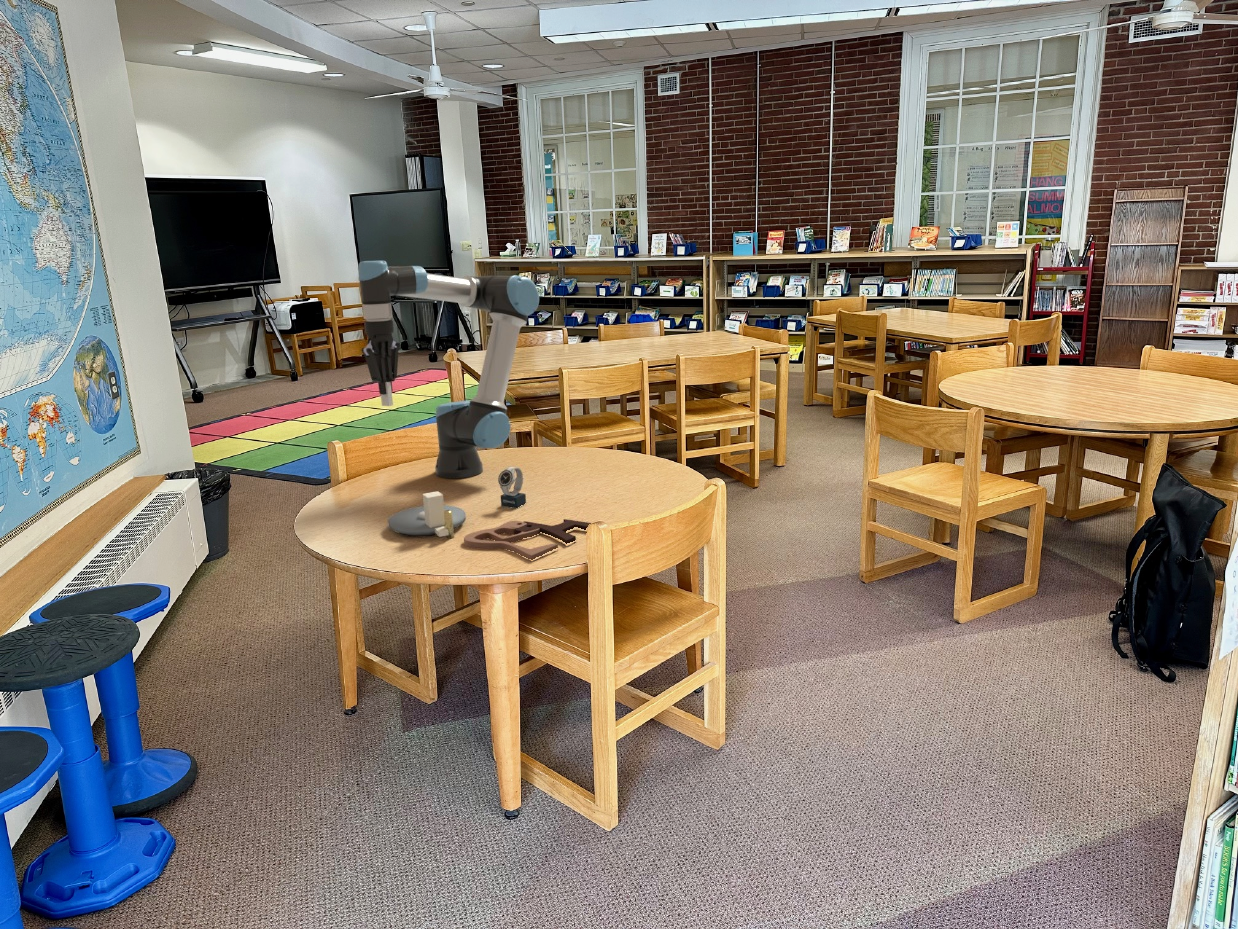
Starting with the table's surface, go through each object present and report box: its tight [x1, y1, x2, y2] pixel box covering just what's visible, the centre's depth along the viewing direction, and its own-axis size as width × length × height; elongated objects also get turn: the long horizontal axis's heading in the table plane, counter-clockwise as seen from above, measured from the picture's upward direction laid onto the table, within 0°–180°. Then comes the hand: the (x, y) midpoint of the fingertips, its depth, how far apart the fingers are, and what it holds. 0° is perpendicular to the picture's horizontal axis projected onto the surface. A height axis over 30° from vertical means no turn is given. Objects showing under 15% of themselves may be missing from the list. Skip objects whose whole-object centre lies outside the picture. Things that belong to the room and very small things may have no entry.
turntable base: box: [397, 526, 458, 538], centre depth 222 cm, size 16×16×1 cm
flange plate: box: [387, 490, 467, 538], centre depth 219 cm, size 24×20×9 cm
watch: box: [497, 466, 527, 509], centre depth 236 cm, size 6×8×11 cm
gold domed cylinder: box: [444, 510, 455, 540], centre depth 213 cm, size 2×2×7 cm
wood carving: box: [463, 518, 592, 560], centre depth 212 cm, size 28×2×24 cm
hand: (387, 405), depth 233 cm, fingers closed
